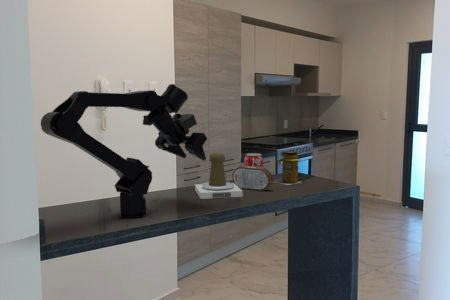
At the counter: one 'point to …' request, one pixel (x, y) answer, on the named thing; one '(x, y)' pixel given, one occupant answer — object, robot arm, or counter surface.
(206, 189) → the scale
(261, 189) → the tin
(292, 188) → the counter surface
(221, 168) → the cork
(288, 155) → the condiment
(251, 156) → the soda can
